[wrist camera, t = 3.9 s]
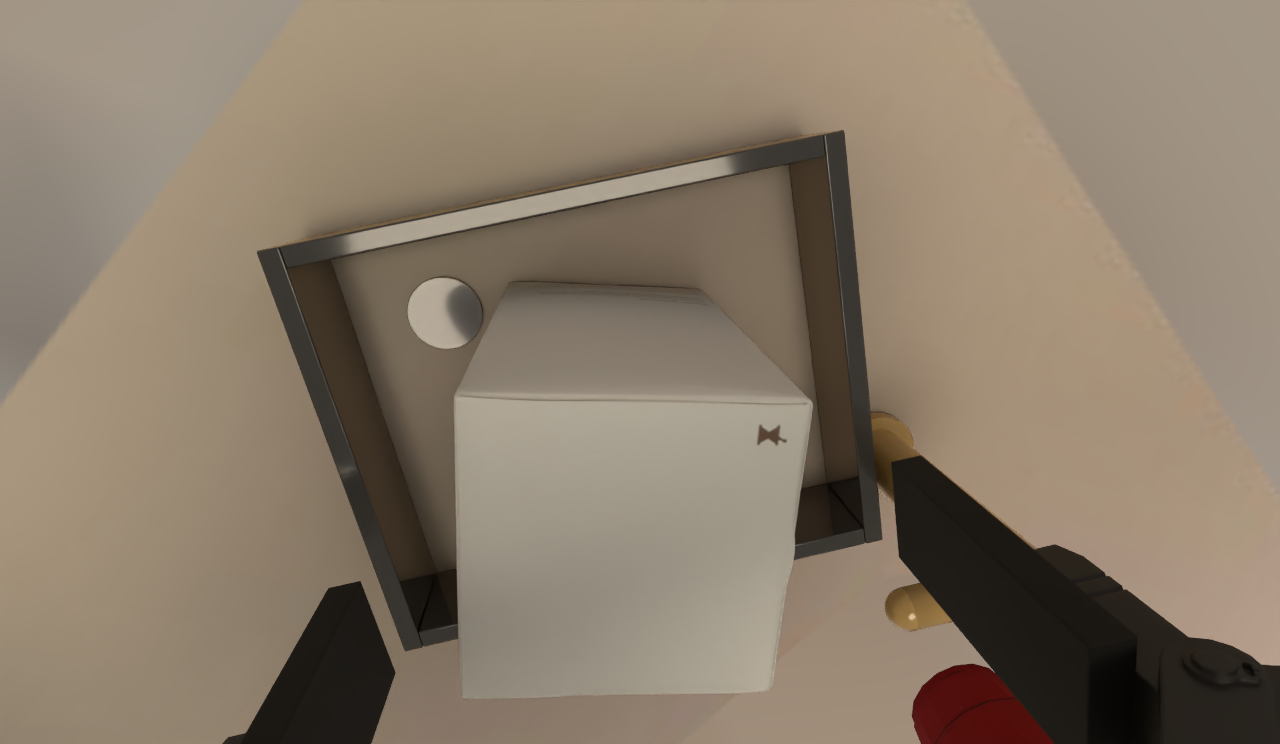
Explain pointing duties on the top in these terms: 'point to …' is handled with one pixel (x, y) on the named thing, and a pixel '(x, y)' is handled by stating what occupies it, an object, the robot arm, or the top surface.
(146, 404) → the top surface
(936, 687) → the plastic cup
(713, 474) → the rectangular carton
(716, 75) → the top surface
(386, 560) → the sink
